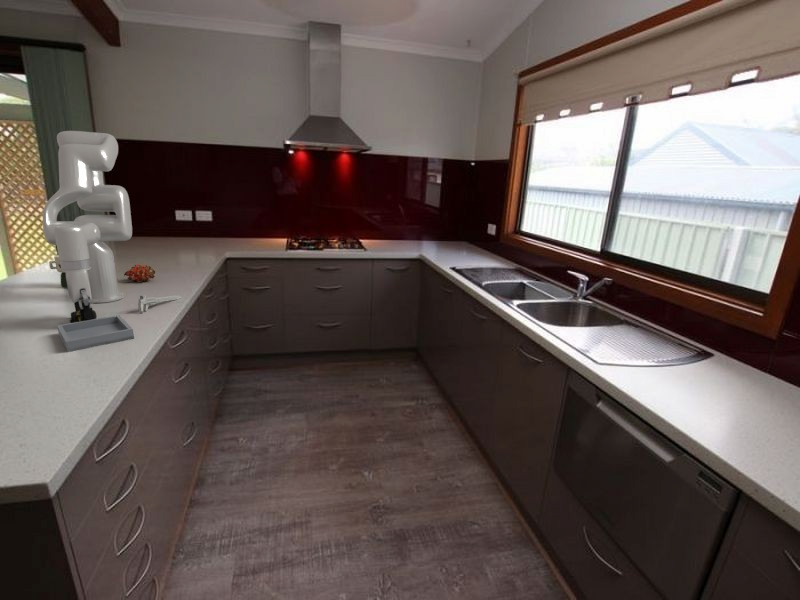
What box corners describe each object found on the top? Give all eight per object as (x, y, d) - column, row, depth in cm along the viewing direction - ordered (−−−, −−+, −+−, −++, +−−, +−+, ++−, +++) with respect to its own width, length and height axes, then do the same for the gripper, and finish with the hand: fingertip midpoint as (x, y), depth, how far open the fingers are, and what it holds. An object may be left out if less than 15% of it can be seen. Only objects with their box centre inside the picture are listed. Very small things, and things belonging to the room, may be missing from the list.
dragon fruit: (158, 284, 187) (128, 289, 183) (158, 270, 191) (128, 275, 188) (152, 272, 180) (121, 277, 176) (151, 258, 184) (121, 262, 181)
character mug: (54, 290, 166) (48, 258, 162) (53, 286, 171) (47, 255, 168) (88, 287, 173) (82, 256, 169) (86, 283, 178) (81, 253, 174)
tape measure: (72, 320, 137) (69, 310, 136) (97, 317, 141) (95, 307, 140) (70, 327, 132) (68, 316, 131) (97, 324, 136) (95, 313, 135)
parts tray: (59, 334, 126) (57, 325, 125) (120, 323, 137) (119, 314, 136) (67, 352, 115) (65, 341, 114) (134, 338, 126) (132, 329, 125)
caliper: (142, 314, 147) (139, 297, 145) (139, 314, 147) (136, 296, 145) (182, 298, 166) (180, 282, 164) (179, 297, 166) (177, 282, 165)
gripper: (56, 261, 134) (66, 311, 139) (65, 271, 123) (75, 326, 128) (85, 258, 139) (93, 307, 144) (96, 268, 128) (104, 321, 133)
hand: (85, 316), depth 136 cm, fingers open, 9 cm apart
